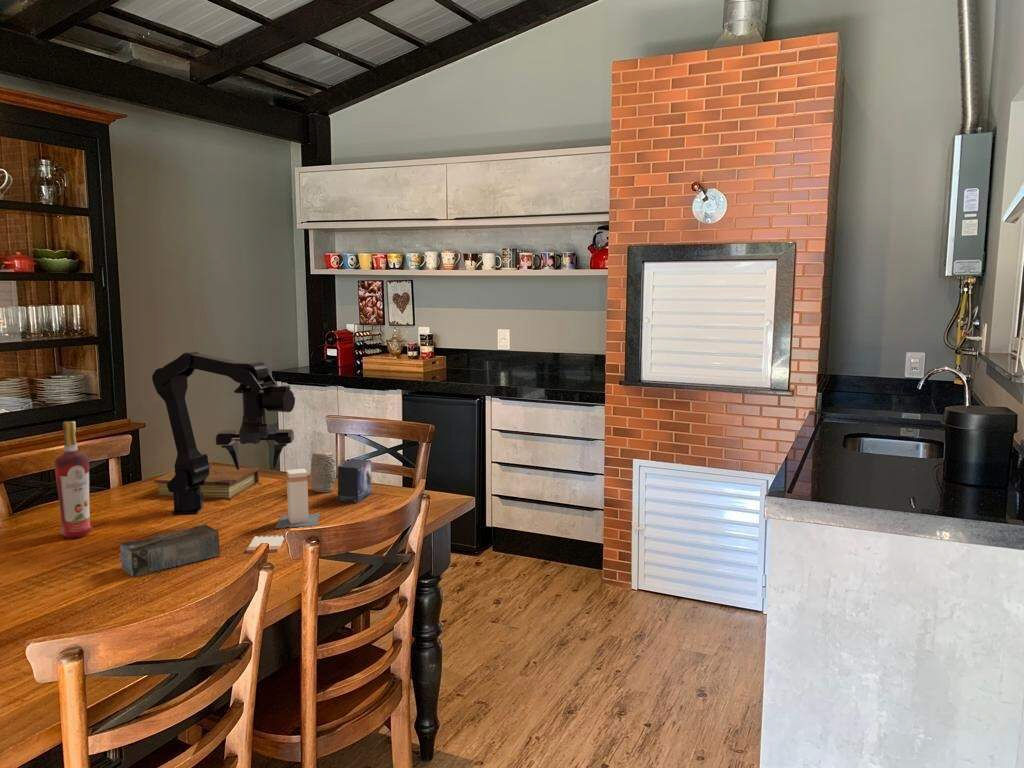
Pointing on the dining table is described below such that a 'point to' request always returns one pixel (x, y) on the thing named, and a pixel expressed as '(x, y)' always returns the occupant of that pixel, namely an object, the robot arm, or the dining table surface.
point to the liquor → (73, 486)
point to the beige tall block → (297, 495)
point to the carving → (322, 471)
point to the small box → (354, 480)
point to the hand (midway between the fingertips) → (256, 469)
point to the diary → (217, 482)
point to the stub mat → (285, 523)
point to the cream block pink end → (271, 540)
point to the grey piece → (169, 550)
